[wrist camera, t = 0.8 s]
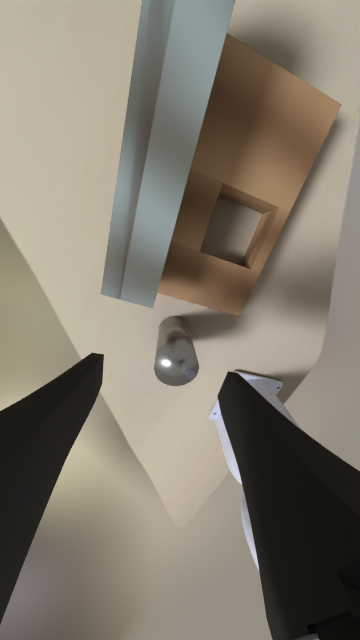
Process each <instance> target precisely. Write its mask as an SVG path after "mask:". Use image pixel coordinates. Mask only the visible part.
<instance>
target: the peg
mask: <svg viewBox="0 0 360 640" xmlns="http://www.w3.org/2000/svg"><path fill="white" fill-rule="evenodd" d="M198 370H199V364H198V360H197V356H196V353H195V349H194V345H193V341H192V337H191V333H190V330H189V326H188V323H187V322H186V321H185V320H184V319H183V318H181V317H177V316H171V317H168V318H166V319H164V320H163V321H162V322H161V324H160V326H159V333H158V341H157V350H156V358H155V366H154V371H155V374H156V376H157V378H158V379H159V380H160V381H161V382H163V383H165V384H167V385H171V386H180V385H184V384H187V383H189V382H190V381H192V380H193V379H194V378H195V377H196V375H197V373H198Z"/></svg>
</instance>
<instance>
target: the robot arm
mask: <svg viewBox="0 0 360 640" xmlns="http://www.w3.org/2000/svg"><path fill="white" fill-rule="evenodd" d="M103 360H104V354H96V353H91V354H89V355H88V356H87V357H85V358H84V359H82V360H81V361H80V362H78V363H77V364H76V365H74V366H73V367H72V368H70V369H69V370H67V371H66V372H64V373H63V374H61V375H60V376H58V377H57V378H55V379H54V380H52V381H51V382H49V383H47V384H46V385H44V386H43V387H41V388H39V389H38V390H36V391H35V392H33V393H31V394H30V395H28V396H26V397H25V398H23V399H21V400H20V401H18V402H16V403H15V404H12V405H11V406H9V407H7V408H5V409H3V410H1V411H0V624H1V621H2V618H3V616H4V613H5V610H6V608H7V605H8V602H9V600H10V597H11V594H12V592H13V589H14V587H15V584H16V581H17V579H18V576H19V573H20V571H21V568H22V566H23V563H24V561H25V558H26V556H27V553H28V551H29V548H30V545H31V543H32V540H33V538H34V535H35V532H36V530H37V528H38V525H39V523H40V520H41V518H42V515H43V513H44V510H45V508H46V505H47V503H48V501H49V498H50V496H51V493H52V491H53V488H54V486H55V484H56V481H57V479H58V477H59V474H60V472H61V470H62V467H63V465H64V462H65V460H66V458H67V456H68V454H69V451H70V450H71V448H72V446H73V444H74V442H75V440H76V438H77V436H78V434H79V432H80V430H81V428H82V426H83V424H84V422H85V421H86V419H87V417H88V415H89V413H90V411H91V409H92V407H93V405H94V403H95V401H96V398H97V396H98V393H99V390H100V388H101V385H102V377H103ZM282 386H283V383H282V381H278V380H274V379H270V378H265V377H261V376H256V375H252V374H247V373H243V372H239V371H234V372H228V373H227V375H226V378H225V380H224V382H223V385H222V387H221V389H220V392H219V394H218V401H217V402H216V404H215V406H214V408H213V410H212V412H211V413H210V415H209V417H210V419H211V420H215V421H216V425H217V429H218V432H219V436H220V440H221V443H222V447H223V451H224V454H225V458H226V461H227V464H228V467H229V469H230V470H231V472H232V474H233V475H234V477H235V478H236V479H237V481H238V482H239V483H241V485H242V486H243V492H242V496H241V516H242V521H243V526H244V531H245V535H246V538H247V541H248V544H249V548H250V550H251V553H252V556H253V558H254V561H255V563H256V565H257V568H258V570H259V572H260V578H261V584H262V590H263V596H264V603H265V610H266V617H267V621H268V625H269V628H270V632H271V635H272V639H273V640H360V471H358V470H357V469H355V468H354V467H352V466H351V465H349V464H348V463H346V462H345V461H343V460H342V459H341V458H340V457H339V456H337V455H335V454H333V453H332V452H330V451H329V450H328V449H326V448H325V447H323V446H322V445H321V444H319V443H318V442H316V441H315V440H314V439H312V438H311V437H310V436H309V435H307V434H306V433H305V432H304V431H302V430H301V428H300V427H299V426H298V424H297V423H296V422H295V420H294V419H293V418H292V416H291V415H290V414H289V412H288V411H287V409H286V408H285V407H284V405H283V404H282V403H281V401H280V400H279V398H278V397H277V396H276V395H277V394H278V392H279V391H280V389H281V388H282Z"/></svg>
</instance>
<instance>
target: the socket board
mask: <svg viewBox="0 0 360 640" xmlns="http://www.w3.org/2000/svg"><path fill="white" fill-rule="evenodd" d="M234 3H235V0H142V5H141V12H140V19H139V26H138V34H137V41H136V48H135V55H134V62H133V69H132V76H131V83H130V90H129V98H128V105H127V112H126V119H125V126H124V133H123V140H122V147H121V154H120V162H119V169H118V176H117V183H116V190H115V197H114V204H113V211H112V219H111V226H110V233H109V240H108V247H107V254H106V261H105V268H104V275H103V283H102V290H101V294H102V295H106V296H109V297H113V298H117V299H120V300H124V301H128V302H131V303H135V304H139V305H142V306H146V307H150V308H153V305H154V302H155V298H156V294H157V293H161V294H164V295H168V296H171V297H175V298H178V299H181V300H185V301H188V302H192V303H195V304H199V305H202V306H205V307H209V308H212V309H216V310H219V311H223V312H226V313H229V314H233V315H236V316H240V314H241V312H242V310H243V308H244V306H245V304H246V302H247V300H248V298H249V296H250V293H251V291H252V289H253V287H254V285H255V283H256V281H257V279H258V277H259V275H260V273H261V271H262V269H263V267H264V264H265V262H266V260H267V258H268V256H269V254H270V252H271V250H272V248H273V246H274V244H275V242H276V240H277V238H278V235H279V233H280V231H281V229H282V227H283V225H284V223H285V221H286V219H287V217H288V215H289V213H290V211H291V209H292V206H293V204H294V202H295V200H296V198H297V196H298V194H299V192H300V190H301V188H302V186H303V184H304V182H305V180H306V177H307V175H308V173H309V171H310V169H311V167H312V165H313V163H314V161H315V159H316V157H317V155H318V153H319V151H320V149H321V146H322V144H323V142H324V140H325V138H326V136H327V134H328V132H329V130H330V128H331V126H332V124H333V122H334V120H335V117H336V115H337V113H338V111H339V109H340V107H341V105H342V104H340V103H339V102H337V101H335V100H334V99H332V98H331V97H329V96H327V95H326V94H324V93H322V92H321V91H319V90H318V89H316V88H314V87H313V86H311V85H310V84H308V83H306V82H305V81H303V80H301V79H300V78H298V77H297V76H295V75H293V74H292V73H290V72H288V71H287V70H285V69H284V68H282V67H280V66H279V65H277V64H275V63H274V62H272V61H271V60H269V59H267V58H266V57H264V56H263V55H261V54H259V53H258V52H256V51H254V50H253V49H251V48H250V47H248V46H246V45H245V44H243V43H241V42H240V41H238V40H237V39H235V38H233V37H232V36H230V35H228V34H227V30H228V26H229V22H230V18H231V15H232V11H233V7H234ZM219 195H220V196H223V197H225V198H227V199H230V200H232V201H234V202H237V203H239V204H241V205H244V206H246V207H248V208H251V209H253V210H255V211H258V212H260V213H263V215H262V217H261V220H260V222H259V224H258V227H257V229H256V231H255V233H254V236H253V238H252V240H251V243H250V245H249V247H248V250H247V252H246V254H245V257H244V259H243V261H242V263H241V266H240V265H237V264H234V263H231V262H228V261H225V260H223V259H220V258H217V257H214V256H211V255H208V254H205V253H203V252H200V250H201V247H202V244H203V241H204V238H205V235H206V232H207V229H208V226H209V223H210V220H211V217H212V214H213V211H214V208H215V205H216V202H217V199H218V196H219Z"/></svg>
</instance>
